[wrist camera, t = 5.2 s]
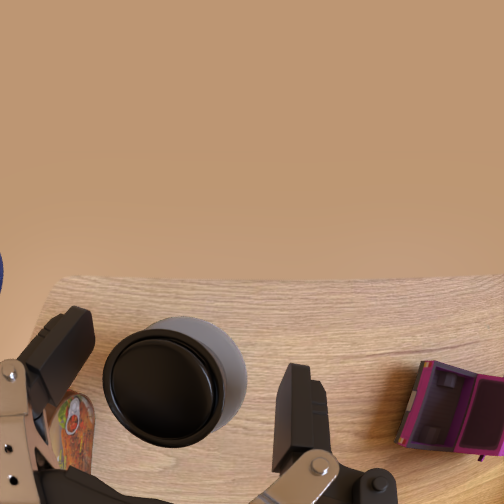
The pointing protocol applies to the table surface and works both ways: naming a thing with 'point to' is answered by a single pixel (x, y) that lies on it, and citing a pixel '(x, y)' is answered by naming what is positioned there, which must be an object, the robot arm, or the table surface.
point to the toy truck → (454, 412)
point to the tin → (72, 430)
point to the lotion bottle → (175, 381)
